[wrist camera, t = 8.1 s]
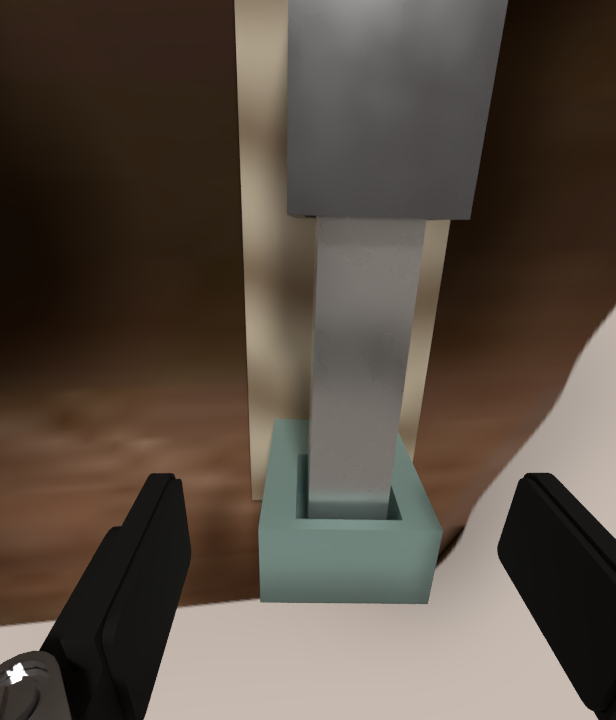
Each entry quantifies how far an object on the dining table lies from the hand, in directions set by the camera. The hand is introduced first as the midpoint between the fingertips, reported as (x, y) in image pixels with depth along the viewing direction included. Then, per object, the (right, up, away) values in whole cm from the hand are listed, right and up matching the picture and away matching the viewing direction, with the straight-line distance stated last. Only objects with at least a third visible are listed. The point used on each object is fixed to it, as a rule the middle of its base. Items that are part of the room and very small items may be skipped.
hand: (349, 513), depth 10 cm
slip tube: (+1, +5, +5) cm, 8 cm away
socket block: (0, -1, +12) cm, 12 cm away
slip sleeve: (+1, +15, +6) cm, 16 cm away
